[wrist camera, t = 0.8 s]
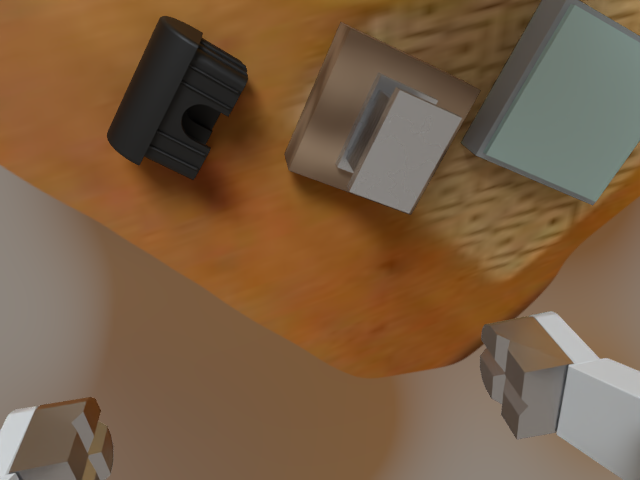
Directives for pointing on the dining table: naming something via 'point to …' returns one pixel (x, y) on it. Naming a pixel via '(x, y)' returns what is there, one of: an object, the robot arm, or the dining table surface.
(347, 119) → the stand
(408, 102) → the block
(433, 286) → the dining table surface
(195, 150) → the end cap
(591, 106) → the stand
